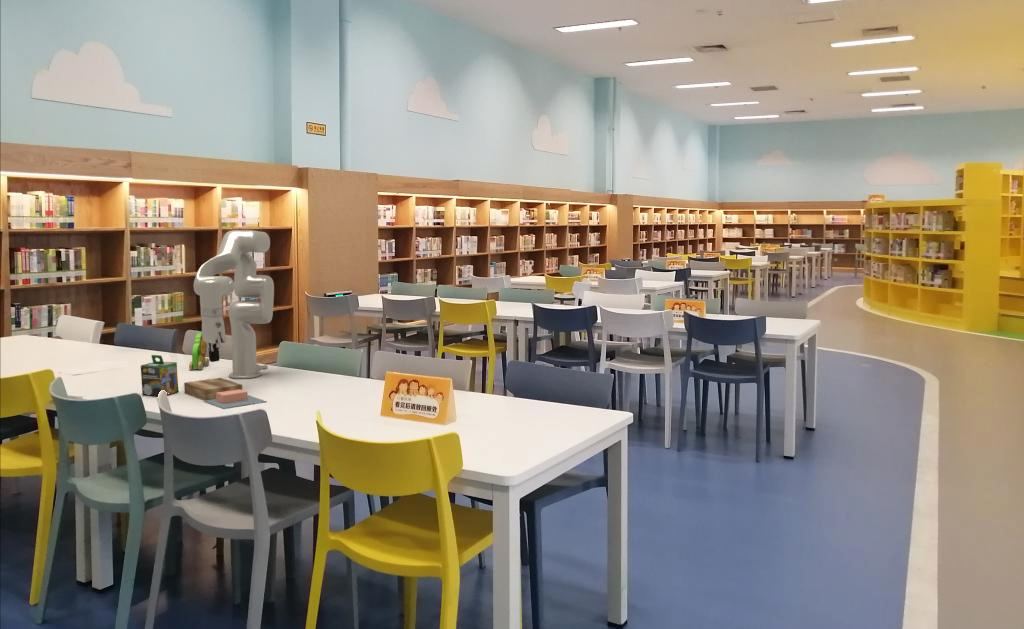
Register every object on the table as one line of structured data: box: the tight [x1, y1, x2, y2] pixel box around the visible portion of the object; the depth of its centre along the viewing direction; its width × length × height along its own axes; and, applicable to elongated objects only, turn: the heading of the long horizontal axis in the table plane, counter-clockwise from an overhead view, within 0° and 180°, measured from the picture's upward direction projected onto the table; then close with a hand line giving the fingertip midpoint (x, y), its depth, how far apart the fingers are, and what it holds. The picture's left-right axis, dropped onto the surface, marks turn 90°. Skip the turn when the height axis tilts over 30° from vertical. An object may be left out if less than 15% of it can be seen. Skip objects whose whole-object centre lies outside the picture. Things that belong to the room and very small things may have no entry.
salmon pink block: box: [216, 389, 249, 404], centre depth 285 cm, size 9×6×3 cm, turn 134°
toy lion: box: [188, 332, 210, 371], centre depth 350 cm, size 16×5×15 cm, turn 6°
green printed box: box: [140, 354, 179, 397], centre depth 296 cm, size 9×9×15 cm
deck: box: [183, 377, 243, 401], centre depth 296 cm, size 14×18×4 cm
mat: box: [202, 394, 264, 410], centre depth 284 cm, size 16×16×1 cm
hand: (214, 361), depth 296 cm, fingers closed
